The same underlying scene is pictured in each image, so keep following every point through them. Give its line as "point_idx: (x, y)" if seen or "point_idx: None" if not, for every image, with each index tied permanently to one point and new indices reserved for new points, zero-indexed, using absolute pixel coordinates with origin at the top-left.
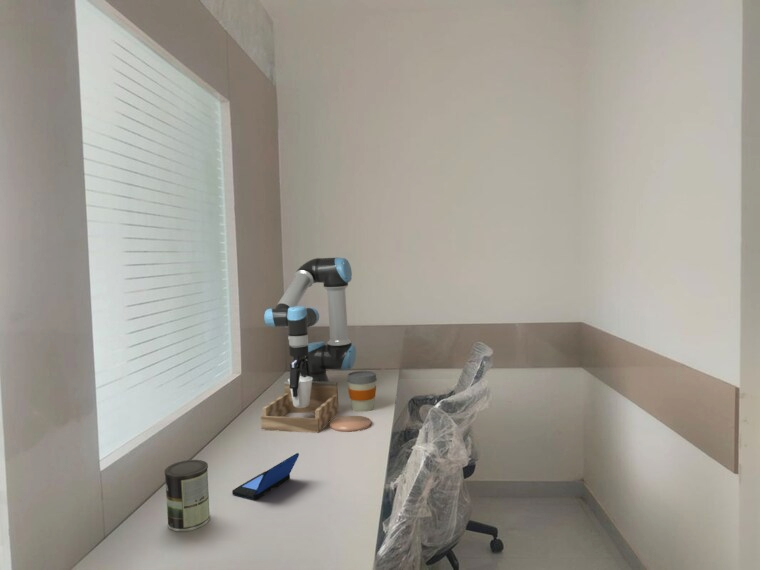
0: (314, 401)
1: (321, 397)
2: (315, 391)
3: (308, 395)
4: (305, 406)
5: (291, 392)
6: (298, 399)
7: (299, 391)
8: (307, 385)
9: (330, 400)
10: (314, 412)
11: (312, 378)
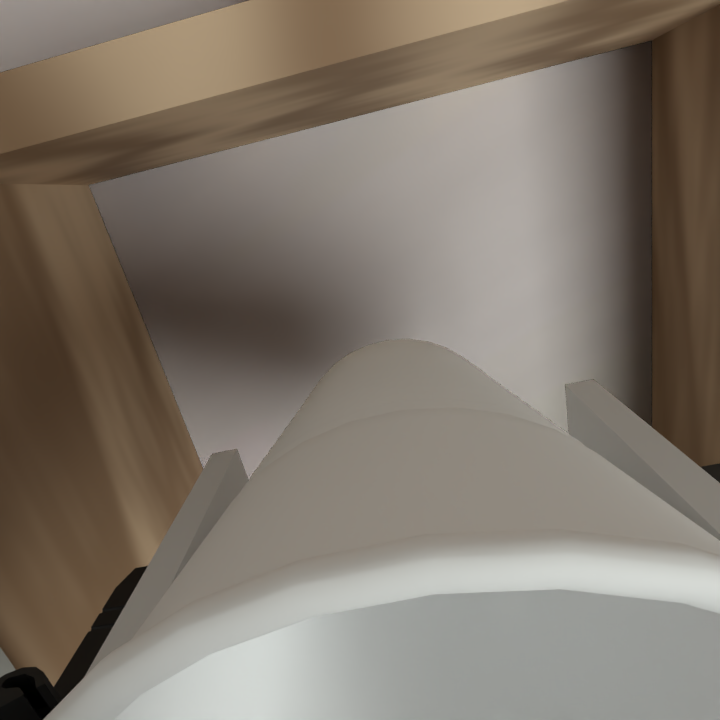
0: (107, 423)
1: (31, 363)
2: (12, 480)
3: (432, 372)
4: (445, 348)
5: (562, 645)
6: (637, 427)
7: (695, 509)
8: (592, 475)
9: (192, 17)
10: (163, 378)
11: (216, 621)
